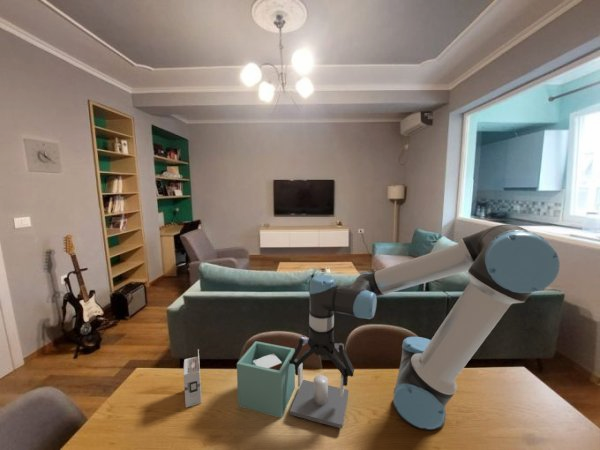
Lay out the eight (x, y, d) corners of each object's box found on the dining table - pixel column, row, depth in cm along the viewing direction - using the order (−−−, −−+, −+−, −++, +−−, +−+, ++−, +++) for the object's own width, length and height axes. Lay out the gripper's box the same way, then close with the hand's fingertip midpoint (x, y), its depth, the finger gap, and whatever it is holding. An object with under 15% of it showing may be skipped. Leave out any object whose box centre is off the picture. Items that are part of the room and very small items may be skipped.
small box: (260, 408, 86) (260, 371, 84) (252, 395, 91) (251, 360, 89) (282, 397, 90) (282, 362, 88) (274, 386, 95) (273, 352, 93)
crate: (294, 387, 94) (294, 348, 92) (281, 418, 82) (281, 373, 80) (256, 378, 99) (255, 341, 97) (238, 406, 87) (236, 363, 84)
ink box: (185, 389, 94) (183, 350, 91) (200, 385, 95) (198, 347, 93) (185, 408, 86) (182, 366, 84) (201, 403, 87) (199, 362, 85)
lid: (348, 397, 90) (349, 370, 89) (342, 433, 77) (342, 403, 76) (303, 386, 95) (303, 361, 94) (289, 418, 82) (289, 390, 80)
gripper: (364, 326, 82) (361, 388, 85) (287, 314, 89) (287, 372, 92) (362, 339, 75) (359, 407, 78) (279, 325, 82) (279, 388, 85)
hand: (320, 388), depth 85 cm, fingers open, 13 cm apart
